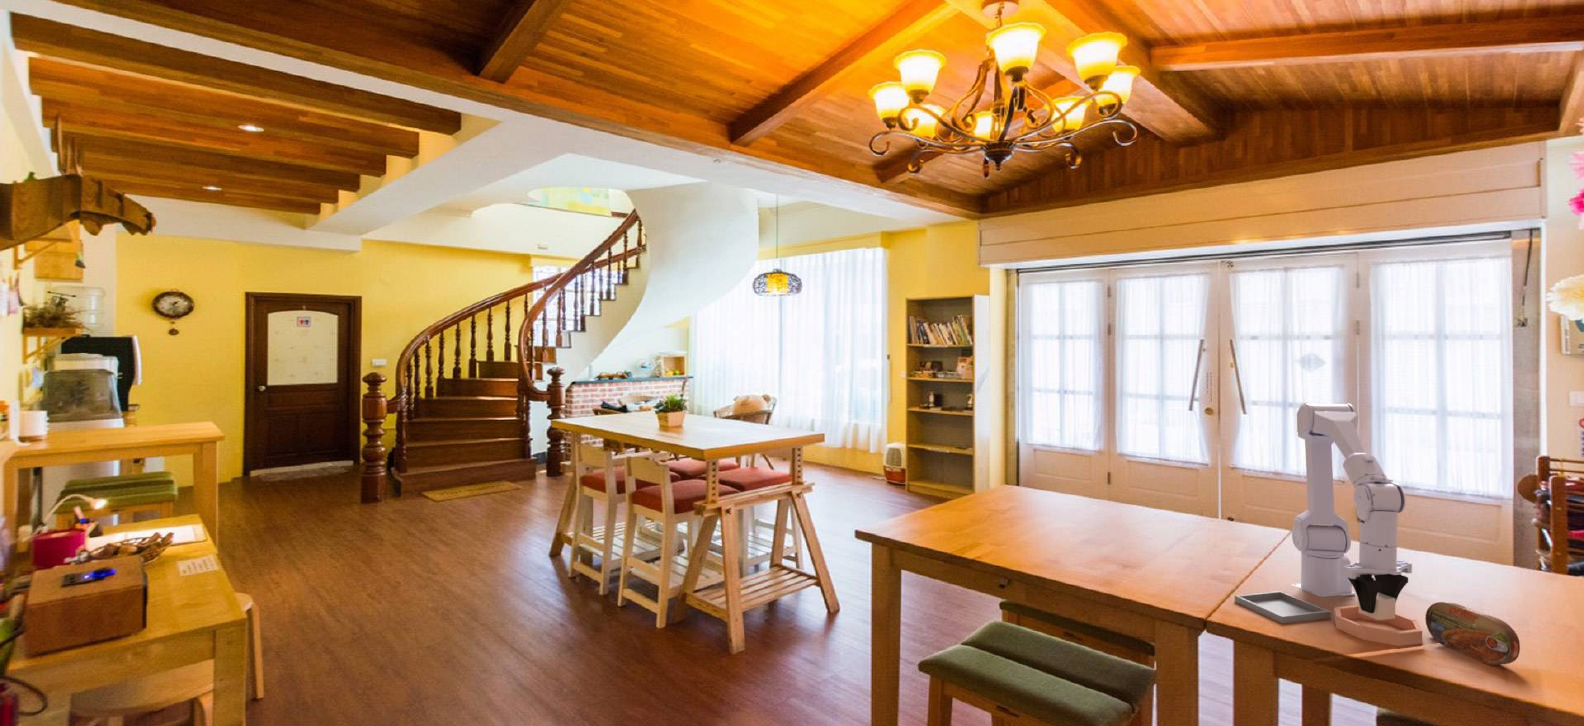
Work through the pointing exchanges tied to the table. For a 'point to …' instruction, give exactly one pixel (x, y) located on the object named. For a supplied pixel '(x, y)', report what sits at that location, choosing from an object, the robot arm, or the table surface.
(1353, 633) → the bowl
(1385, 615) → the beige cube
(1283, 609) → the parts tray
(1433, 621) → the tin
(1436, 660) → the table surface
